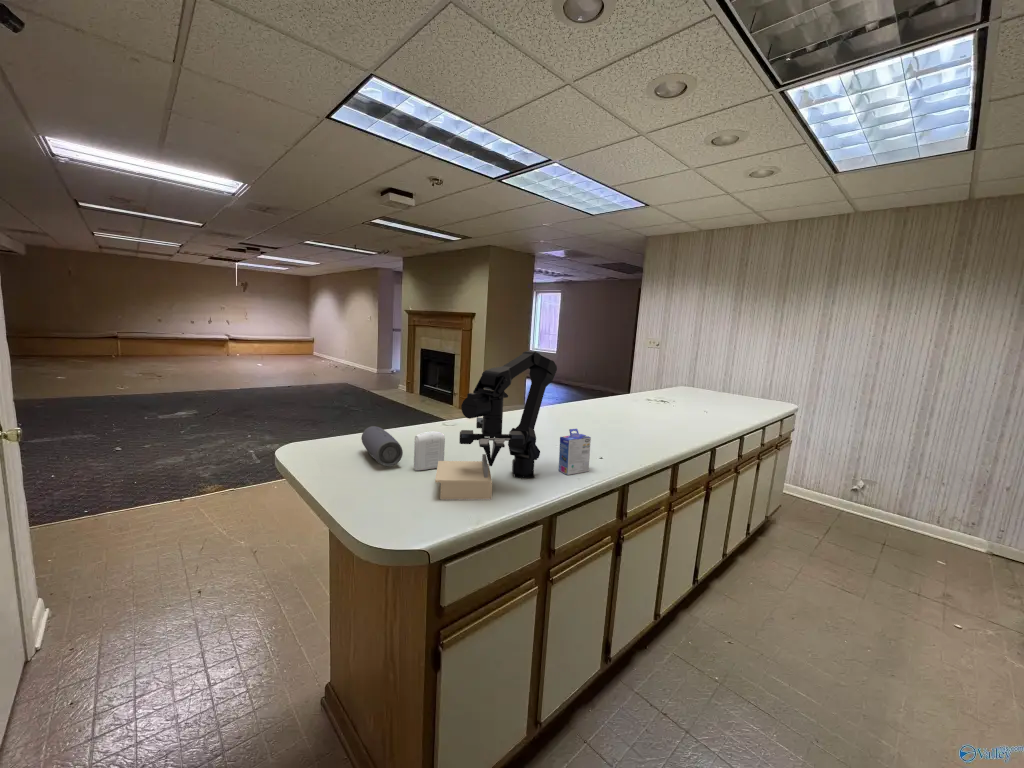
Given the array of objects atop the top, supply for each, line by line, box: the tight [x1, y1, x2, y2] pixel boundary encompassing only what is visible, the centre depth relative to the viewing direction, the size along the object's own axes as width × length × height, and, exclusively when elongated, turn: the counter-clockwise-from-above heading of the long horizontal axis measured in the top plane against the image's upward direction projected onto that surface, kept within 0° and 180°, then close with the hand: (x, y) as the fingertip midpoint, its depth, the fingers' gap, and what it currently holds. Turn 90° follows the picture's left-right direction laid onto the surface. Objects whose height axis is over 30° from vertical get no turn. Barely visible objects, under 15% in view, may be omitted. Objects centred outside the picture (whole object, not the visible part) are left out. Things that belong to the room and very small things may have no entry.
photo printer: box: [413, 430, 446, 471], centre depth 137 cm, size 10×4×12 cm, turn 123°
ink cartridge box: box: [558, 428, 592, 476], centre depth 141 cm, size 10×6×14 cm, turn 122°
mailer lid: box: [434, 453, 489, 483], centre depth 121 cm, size 14×16×4 cm
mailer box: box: [440, 463, 493, 501], centre depth 122 cm, size 14×16×5 cm
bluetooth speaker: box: [360, 425, 404, 467], centre depth 143 cm, size 23×9×10 cm, turn 32°
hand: (490, 465), depth 122 cm, fingers closed
